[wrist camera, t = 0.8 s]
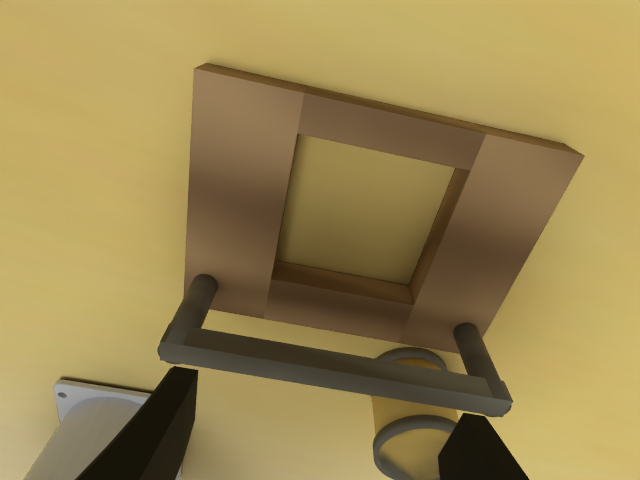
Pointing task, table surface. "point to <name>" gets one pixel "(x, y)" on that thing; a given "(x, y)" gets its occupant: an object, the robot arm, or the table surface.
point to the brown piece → (343, 289)
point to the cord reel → (410, 425)
